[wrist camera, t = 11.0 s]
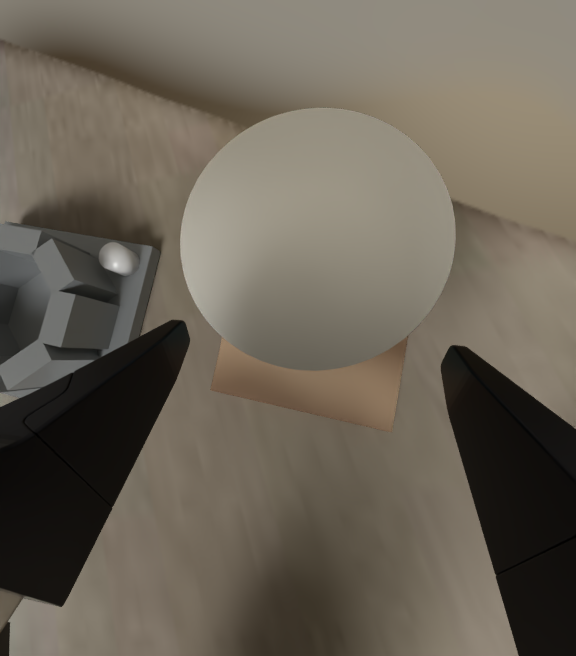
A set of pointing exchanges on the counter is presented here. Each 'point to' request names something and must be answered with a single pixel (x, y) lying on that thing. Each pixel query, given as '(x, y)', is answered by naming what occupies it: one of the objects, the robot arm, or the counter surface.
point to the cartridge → (318, 239)
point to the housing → (66, 302)
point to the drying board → (317, 386)
